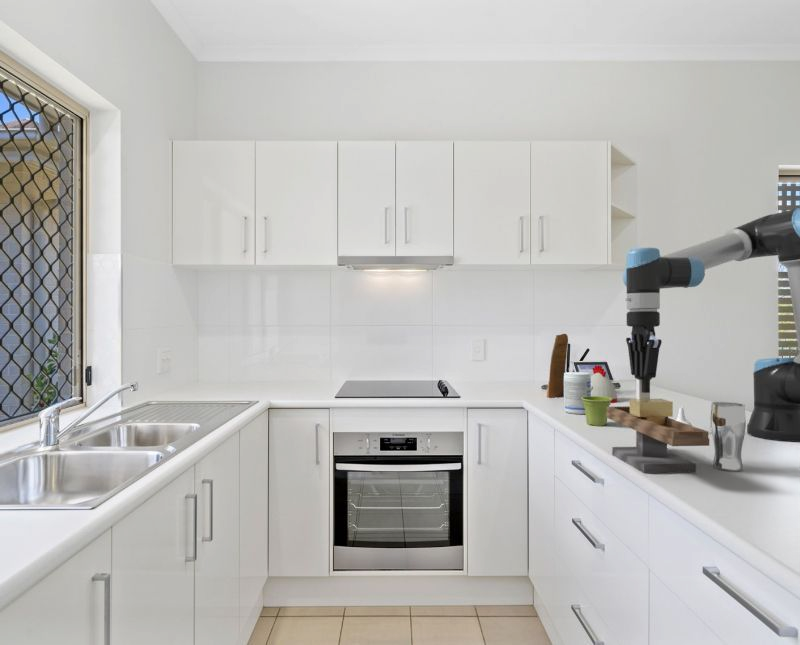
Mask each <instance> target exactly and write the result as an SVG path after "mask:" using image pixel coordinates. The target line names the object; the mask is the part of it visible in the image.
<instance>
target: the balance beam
mask: <svg viewBox="0 0 800 645" xmlns="http://www.w3.org/2000/svg"><path fill="white" fill-rule="evenodd" d="M606 418H607V420H608V419H609V420H610V421H614V422H616V423H618V424H620V425H622V426H625V427H627V428H630V429H632V430H634V431H635V432H636V433H635V436H636V437H635V440H636V442H635V444H636V446H611V447H612V449H611V450H612V453H611V454H612V456H613V457H616V458H617V459H619V460H620V461H623V462H624V463H626V464H627V465H629V466H631V467H633V468H634V469H636V470H637V471H639V472H641V473H643V474H661V473H662V472H679V473H696V472H697V470H696V469H697V468H696V466H697V465H696V464H697V463H696V462H694V461H691V460H689V459H687V458H685V457H682V456H681V455H679V454H676V453H674V452H672V451H669V450H668V446H671V447H706V446H707V447H709V446H710V437H709V430H704V429H702V428H699V427H696V426H693V425H692V424H691V425H692V426H691V425H688V424H685V423H682V422H679V421H676V419H672V418H671V417H665V425H659V424H656V423H654V422H651V421H648V420H646V419H643V418H642V417H638V416H636V415H633V414H630V405H628V406H609V407H607V412H606Z"/></svg>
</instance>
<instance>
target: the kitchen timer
mask: <svg viewBox="0 0 800 645" xmlns="http://www.w3.org/2000/svg"><path fill="white" fill-rule="evenodd" d="M592 371H593V372H592V373H593V374H592V375H590V377H591V396H600V397H608V398H611V399H612V401H611V402H610V404H613V403H617V402H618V394H617V391H616V385H615V384H614V383H613V382H612V379H610V378H609V376H608V375H607V371H605V368H603V367H602V365H599V364H598V365H594V367H592Z"/></svg>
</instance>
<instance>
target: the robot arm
mask: <svg viewBox="0 0 800 645" xmlns="http://www.w3.org/2000/svg"><path fill="white" fill-rule="evenodd" d="M660 252H661V251H660V250H659V248H656V247H638V248H637V247H636V248H633V249H630V250H629V251H628V252H627V253H626V263H625V265H626V266H625V268H624V269H625V270H624V271H623V274H622V280H623V281H622V282H623V284H624V285H625V287H626V297H625V302H626V309H627V310H628V311H627V313H626V326H627V327H632V328H631V332H630V335H631V336H630V337H626V339H625V342H626V344H627V348H628V357H629V366H630V374H631V375H632V376H634V378H635V380H636V381H635V382H636V386H635V387H636V391H635V393H636V395H635V396H636V398H635V399H651V380H652V379H654V378H656V376H657V369H658V363H659V354H660V348H661V345H662V341H663V340H662V339H658V338H656V331H655V328H656V327H659V326H660V324H661V322H660V321H661V319H660V317H661V316H660V315H661V314H660V311H658V310H660V308H661V296H660V295H661V293H660V292H661V291H660V290H661V289H672V288H684V289H685V288H687V289H688V288H694V287H698V286H699V285H700V284H702V282H703V280H704V278H705V275H706V273H705V272H706V270H708V269H709V270H710V269H712V268H714V267H717V266H721V265H723V264H727V263H729V262H732V261H735V262H742V261H745V260H749V259H753V258H754V259H755V258H762V257H772V256H773V257H774V256H777V257H778V263H779V264H780V265H782V266H784V267H785V268H786V270H787V277H788V278H787V279H788V284H789V286H788V287H789V292H790V299H791V304H792V311H793V318H794V325H795V326H794V327H795V334H796V339H797V340H796V341H797V346H798V351H799V352H798V354H797V356H795V357H776V358H775V357H774V358H773V357H771V358H760V359H757V360H756V361H755V362H754V366H753V368H754V369H753V410H752V412H751V414H750V418H749V421H748V423H747V425H746V433H747V434H748V435H750V436H754V437H756V438H762V439H767V440H774V441H785V442H800V207H799V208H798V207H797V208H794V209H790V210H785V211H781V212H777V213H772V214H768V215H765V216H761V217H759V218H756V219H753V220H752V221H750V222H747V223H745V224H741V225H740V226H739V225H738V226H737V227H734V228H731V229H729V230H727V231H726V232H725V234H724V235H721V236H719V237H715V238H713V239H710V240H706V241H704V242H700V243H698V244H695V245H692V246H689V247H688V246H687V247H686V248H682V249H680V250H676V251H674V252H670V253H668V254H664V255H662V256H661V253H660Z"/></svg>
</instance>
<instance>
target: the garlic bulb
mask: <svg viewBox="0 0 800 645" xmlns="http://www.w3.org/2000/svg"><path fill="white" fill-rule="evenodd" d="M675 420H676V421H679V422H682V423H685V424H688V425H691V426H693V424H691V422H690V421H688V420H687V419H686V416H685V410H684V407H683V406H679V410H678V415H677V418H676V419H675Z"/></svg>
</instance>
